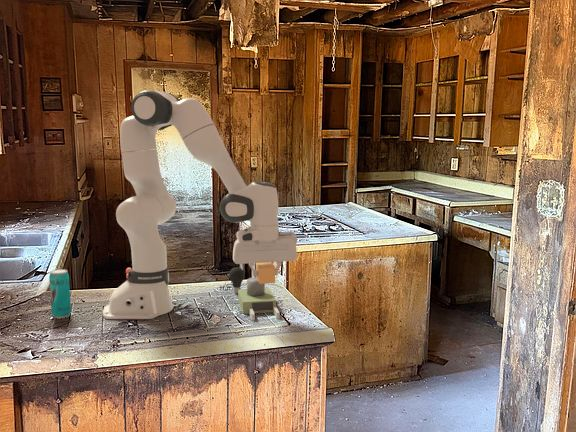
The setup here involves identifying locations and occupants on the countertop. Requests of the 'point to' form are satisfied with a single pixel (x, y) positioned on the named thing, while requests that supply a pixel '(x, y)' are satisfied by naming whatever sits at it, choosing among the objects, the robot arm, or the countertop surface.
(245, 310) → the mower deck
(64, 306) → the beverage can
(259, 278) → the tall orange cuboid
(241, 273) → the light bulb
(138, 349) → the countertop surface
